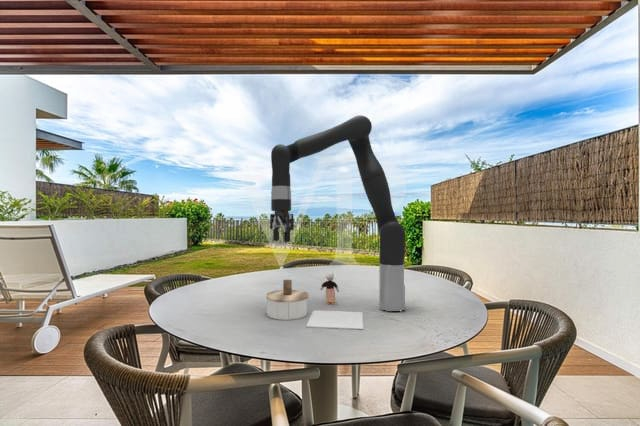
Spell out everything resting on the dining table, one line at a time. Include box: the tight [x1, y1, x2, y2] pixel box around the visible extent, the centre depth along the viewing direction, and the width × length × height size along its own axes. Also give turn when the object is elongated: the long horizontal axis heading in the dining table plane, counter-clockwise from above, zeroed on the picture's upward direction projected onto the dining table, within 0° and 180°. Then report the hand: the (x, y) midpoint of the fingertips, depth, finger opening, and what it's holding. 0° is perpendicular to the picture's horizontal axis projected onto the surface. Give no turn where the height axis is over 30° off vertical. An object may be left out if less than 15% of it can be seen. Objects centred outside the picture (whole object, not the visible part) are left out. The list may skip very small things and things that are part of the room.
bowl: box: [266, 298, 308, 321], centre depth 123 cm, size 14×14×6 cm
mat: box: [305, 310, 364, 330], centre depth 116 cm, size 18×18×1 cm
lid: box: [266, 279, 309, 302], centre depth 123 cm, size 15×15×6 cm
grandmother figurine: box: [319, 271, 340, 306], centre depth 138 cm, size 8×4×13 cm, turn 84°
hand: (281, 241), depth 130 cm, fingers open, 8 cm apart
